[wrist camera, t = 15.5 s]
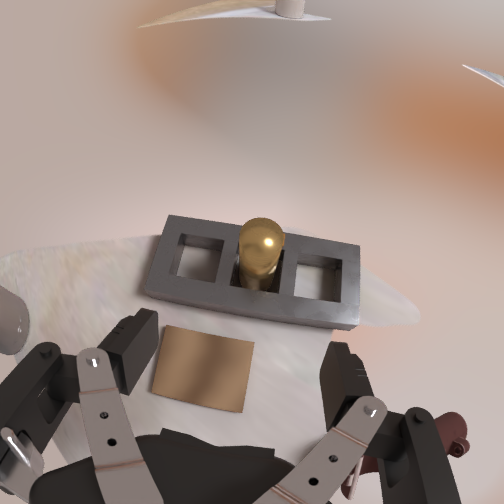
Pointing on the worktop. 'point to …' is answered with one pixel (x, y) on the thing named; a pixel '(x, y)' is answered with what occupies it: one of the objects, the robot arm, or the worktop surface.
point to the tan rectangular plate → (203, 369)
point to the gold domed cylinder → (259, 253)
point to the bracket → (452, 438)
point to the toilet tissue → (290, 8)
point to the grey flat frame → (253, 301)
